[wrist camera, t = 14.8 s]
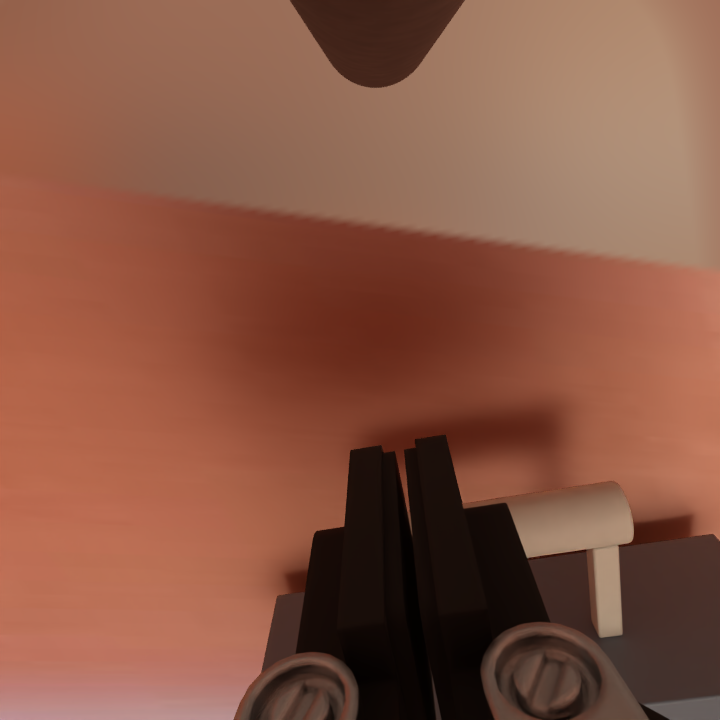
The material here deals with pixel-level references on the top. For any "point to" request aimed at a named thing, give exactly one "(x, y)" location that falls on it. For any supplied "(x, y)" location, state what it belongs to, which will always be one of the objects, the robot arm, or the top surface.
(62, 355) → the top surface
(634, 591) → the drawer
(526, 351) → the top surface
